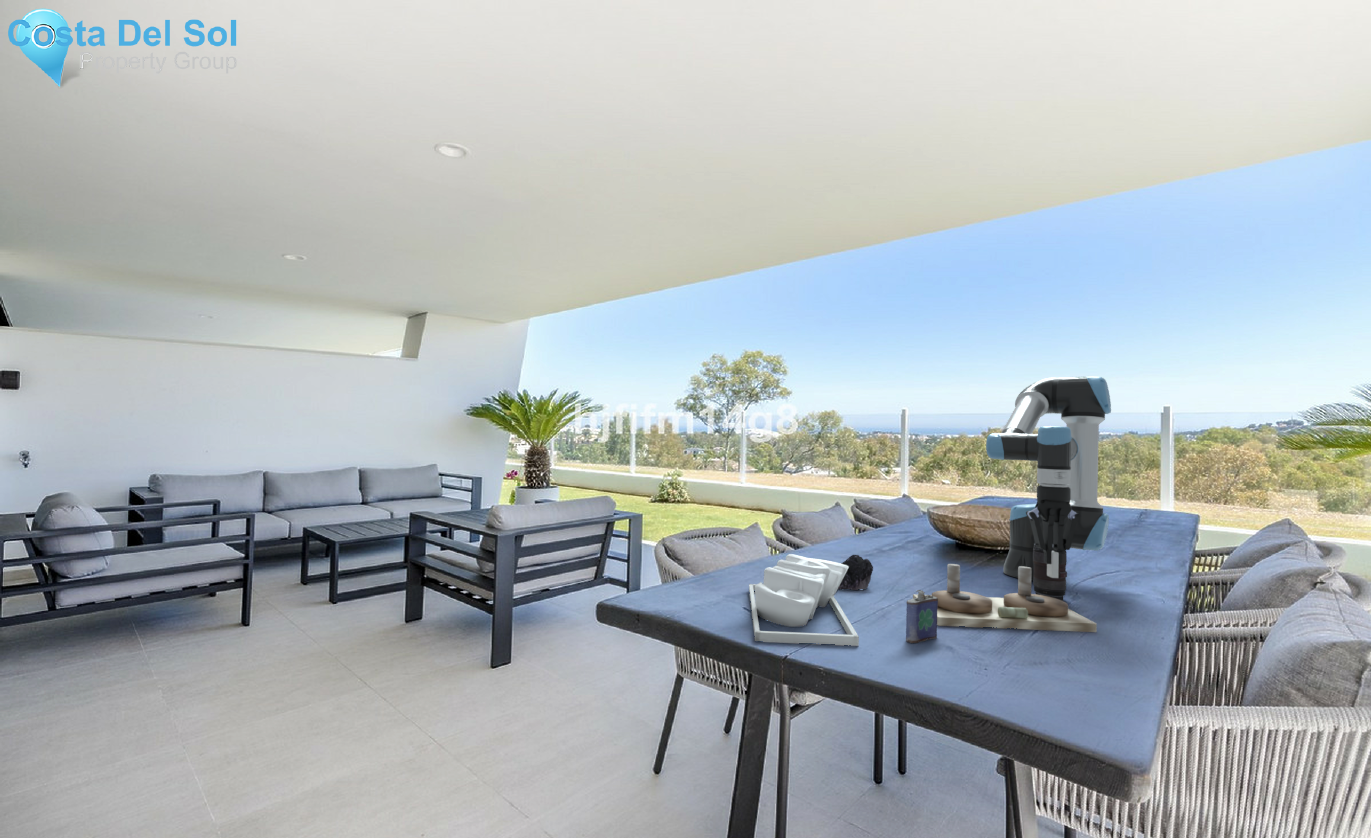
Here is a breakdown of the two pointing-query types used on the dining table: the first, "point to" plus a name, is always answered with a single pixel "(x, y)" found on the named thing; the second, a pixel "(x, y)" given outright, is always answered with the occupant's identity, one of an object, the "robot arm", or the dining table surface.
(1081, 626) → the base
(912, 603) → the flask
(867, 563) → the crystal cluster
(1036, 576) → the camera lens
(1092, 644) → the dining table surface
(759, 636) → the white rectangular frame
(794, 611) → the wavy white extrusion
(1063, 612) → the dial
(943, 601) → the dial
